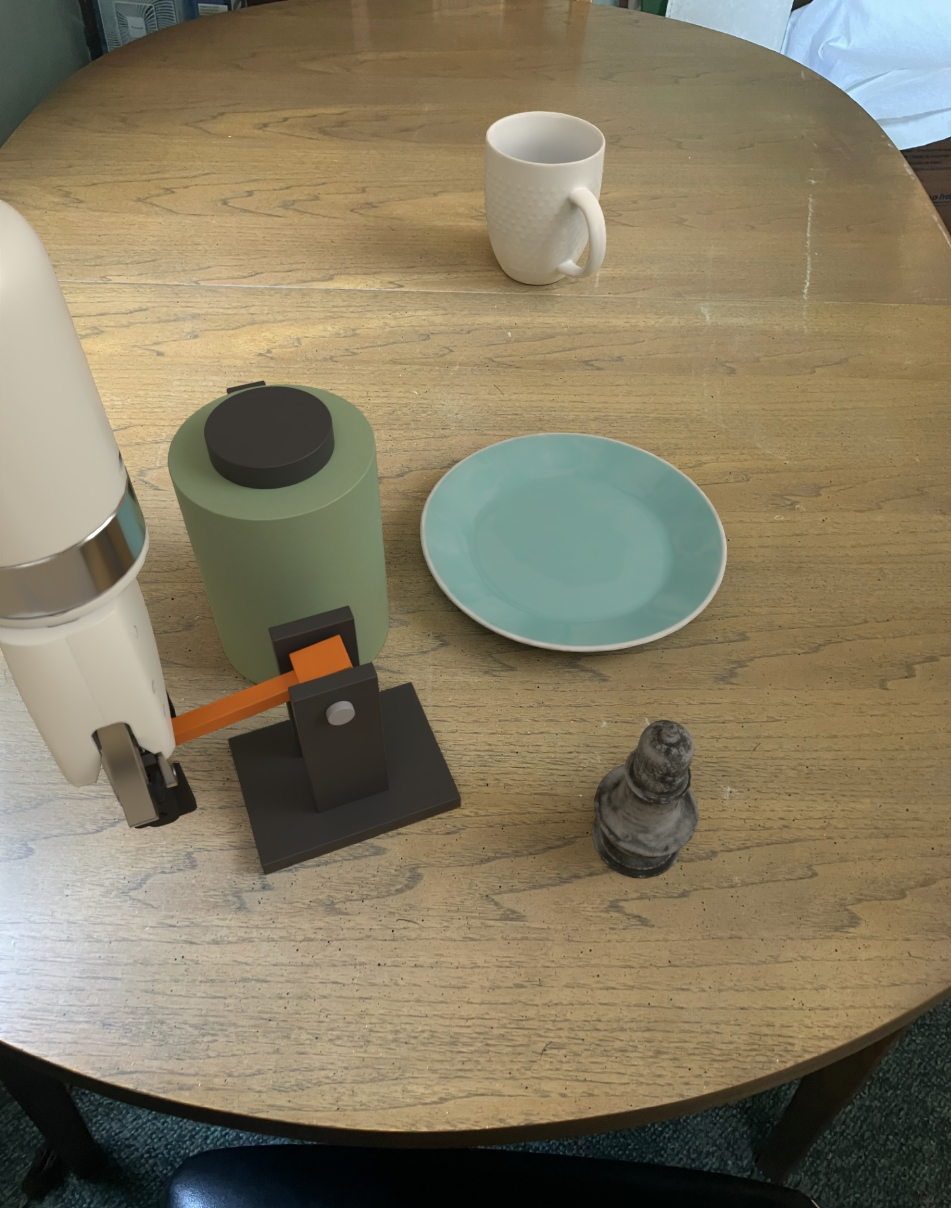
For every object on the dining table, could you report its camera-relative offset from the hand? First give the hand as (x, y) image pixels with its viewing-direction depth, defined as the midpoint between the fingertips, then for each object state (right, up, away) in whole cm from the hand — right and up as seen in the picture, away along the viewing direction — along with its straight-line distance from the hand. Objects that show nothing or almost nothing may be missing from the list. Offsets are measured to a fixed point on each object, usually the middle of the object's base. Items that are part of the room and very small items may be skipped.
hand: (155, 767), depth 50 cm
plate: (+24, +12, +21) cm, 34 cm away
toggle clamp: (+9, -2, +8) cm, 12 cm away
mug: (+24, +42, +45) cm, 66 cm away
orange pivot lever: (+5, +3, 0) cm, 6 cm away
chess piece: (+26, -5, +6) cm, 28 cm away
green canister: (+5, +7, +16) cm, 18 cm away
